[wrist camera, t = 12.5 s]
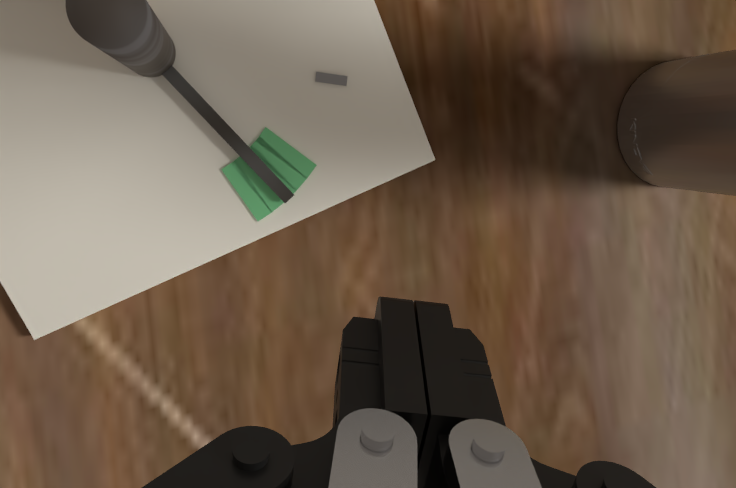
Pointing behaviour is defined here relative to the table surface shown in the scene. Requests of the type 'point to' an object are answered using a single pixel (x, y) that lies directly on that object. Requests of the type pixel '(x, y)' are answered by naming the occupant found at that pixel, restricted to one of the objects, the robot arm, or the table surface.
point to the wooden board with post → (154, 62)
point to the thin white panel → (184, 142)
